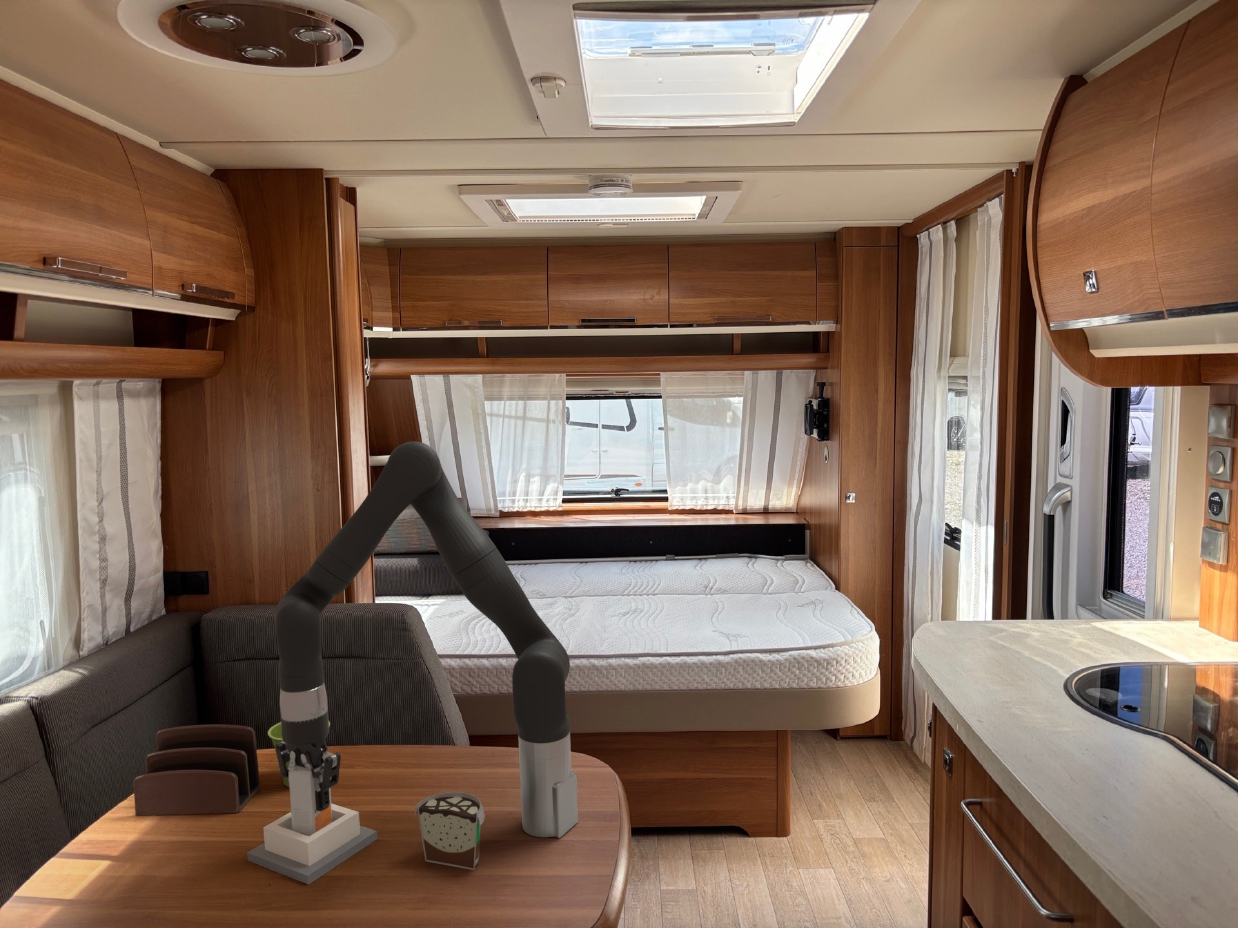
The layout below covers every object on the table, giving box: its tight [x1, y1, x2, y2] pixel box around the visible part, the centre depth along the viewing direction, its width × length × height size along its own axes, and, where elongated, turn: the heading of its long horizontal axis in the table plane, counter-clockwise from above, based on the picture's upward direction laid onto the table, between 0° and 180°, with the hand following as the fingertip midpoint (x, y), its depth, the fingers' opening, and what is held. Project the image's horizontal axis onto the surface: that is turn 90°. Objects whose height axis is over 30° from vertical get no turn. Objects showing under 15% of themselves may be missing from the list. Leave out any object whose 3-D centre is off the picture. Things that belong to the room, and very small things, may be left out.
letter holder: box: [132, 723, 261, 817], centre depth 163 cm, size 10×20×14 cm, turn 90°
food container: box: [414, 791, 486, 871], centre depth 142 cm, size 12×6×10 cm, turn 71°
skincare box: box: [288, 766, 332, 836], centre depth 145 cm, size 6×4×12 cm
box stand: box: [246, 803, 378, 885], centre depth 145 cm, size 15×15×6 cm
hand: (311, 804), depth 145 cm, fingers closed on skincare box, 5 cm apart
